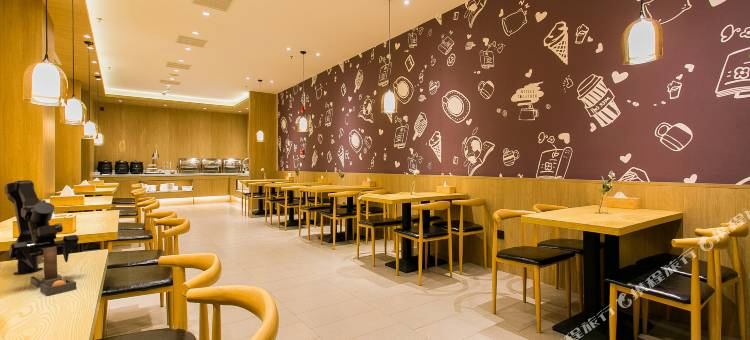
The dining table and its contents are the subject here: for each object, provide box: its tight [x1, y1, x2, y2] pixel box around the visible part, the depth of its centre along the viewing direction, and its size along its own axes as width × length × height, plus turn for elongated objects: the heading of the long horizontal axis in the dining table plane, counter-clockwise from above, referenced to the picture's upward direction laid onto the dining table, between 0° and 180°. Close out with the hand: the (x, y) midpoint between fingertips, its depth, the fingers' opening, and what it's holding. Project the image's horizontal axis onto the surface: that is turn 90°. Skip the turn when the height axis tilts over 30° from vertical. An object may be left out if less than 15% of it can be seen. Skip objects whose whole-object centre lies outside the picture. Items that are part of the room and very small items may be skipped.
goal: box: [39, 277, 77, 297], centre depth 129 cm, size 8×8×2 cm
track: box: [29, 273, 63, 288], centre depth 137 cm, size 8×7×2 cm
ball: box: [52, 279, 66, 287], centre depth 128 cm, size 4×4×4 cm
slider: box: [40, 247, 63, 287], centre depth 133 cm, size 6×4×13 cm
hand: (50, 264), depth 133 cm, fingers open, 9 cm apart
